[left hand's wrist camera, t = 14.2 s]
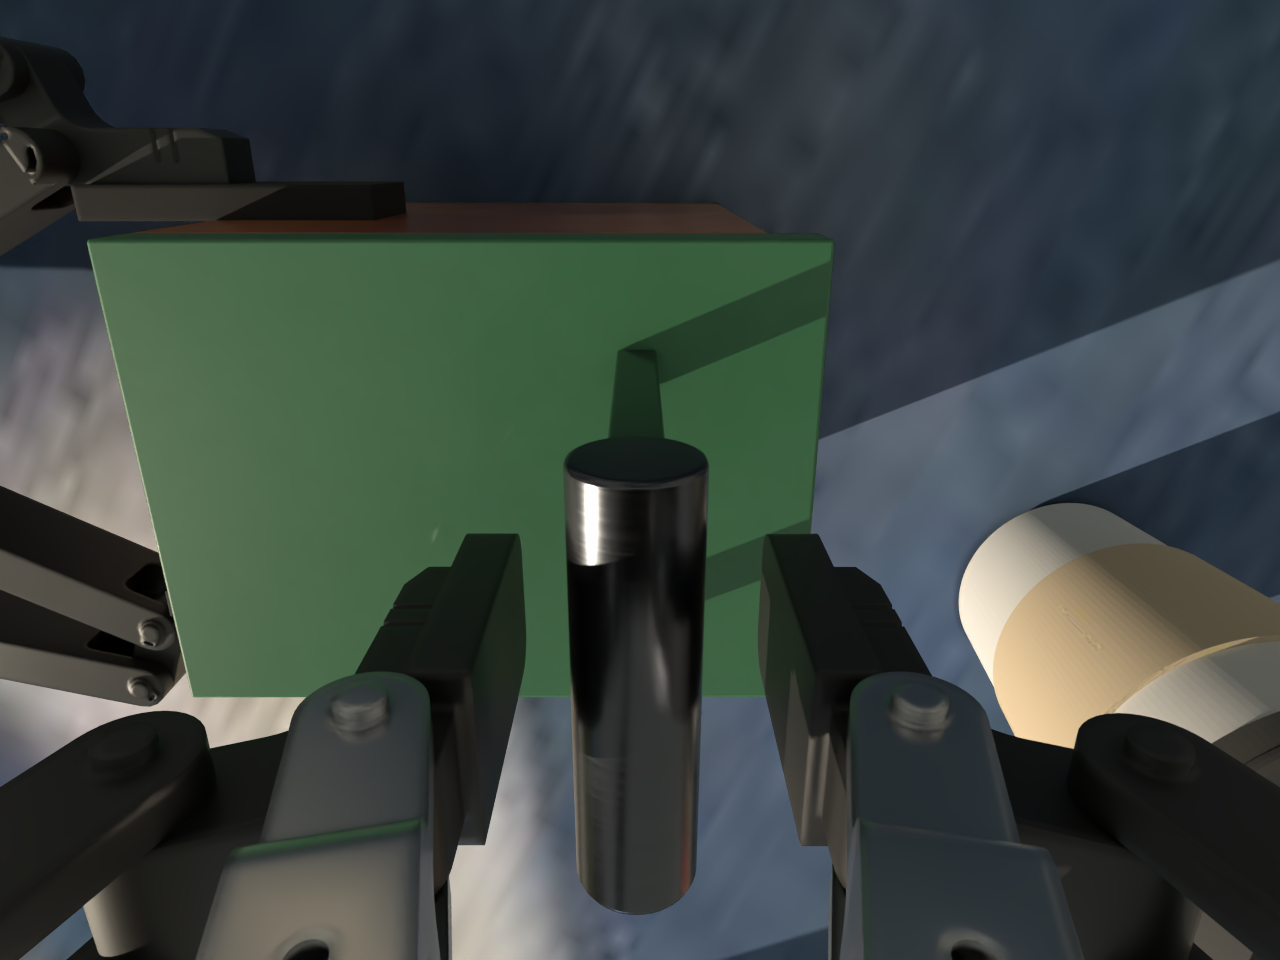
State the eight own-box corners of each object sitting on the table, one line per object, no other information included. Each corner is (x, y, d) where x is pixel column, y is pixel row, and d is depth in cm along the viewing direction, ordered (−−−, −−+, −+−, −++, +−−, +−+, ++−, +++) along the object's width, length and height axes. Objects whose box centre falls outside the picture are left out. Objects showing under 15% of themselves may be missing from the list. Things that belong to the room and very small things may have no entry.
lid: (820, 232, 15) (1002, 308, 8) (787, 663, 19) (891, 1014, 11) (127, 232, 15) (-385, 307, 8) (219, 663, 19) (-73, 1016, 11)
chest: (717, 202, 25) (770, 232, 15) (708, 484, 29) (746, 662, 19) (332, 202, 25) (129, 231, 15) (367, 484, 29) (220, 662, 19)
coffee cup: (1204, 469, 28) (1756, 772, 14) (1156, 692, 32) (1566, 1116, 18) (938, 479, 28) (1226, 789, 14) (917, 700, 32) (1136, 1128, 18)
